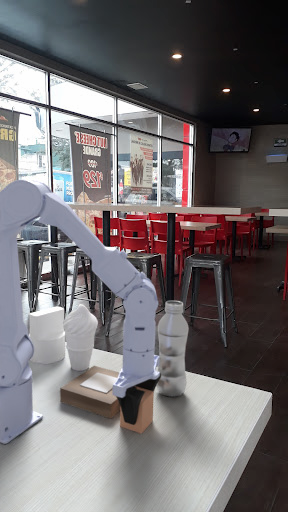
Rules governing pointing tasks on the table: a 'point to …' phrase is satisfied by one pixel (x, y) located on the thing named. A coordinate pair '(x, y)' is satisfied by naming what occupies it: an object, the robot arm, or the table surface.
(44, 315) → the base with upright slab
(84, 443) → the table surface
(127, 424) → the terracotta cube
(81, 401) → the walnut pedestal
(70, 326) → the soft serve ice cream cone
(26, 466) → the table surface
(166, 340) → the plastic bottle
